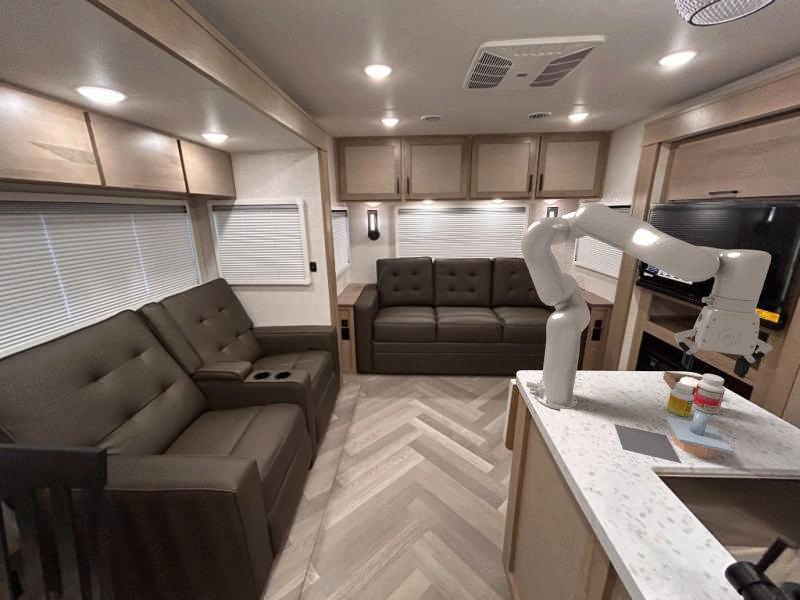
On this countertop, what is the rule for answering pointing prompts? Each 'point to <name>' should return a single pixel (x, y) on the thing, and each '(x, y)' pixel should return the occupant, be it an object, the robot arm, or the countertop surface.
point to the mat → (646, 443)
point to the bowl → (694, 449)
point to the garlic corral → (678, 379)
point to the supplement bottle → (681, 400)
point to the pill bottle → (709, 394)
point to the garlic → (689, 381)
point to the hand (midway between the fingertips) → (711, 371)
